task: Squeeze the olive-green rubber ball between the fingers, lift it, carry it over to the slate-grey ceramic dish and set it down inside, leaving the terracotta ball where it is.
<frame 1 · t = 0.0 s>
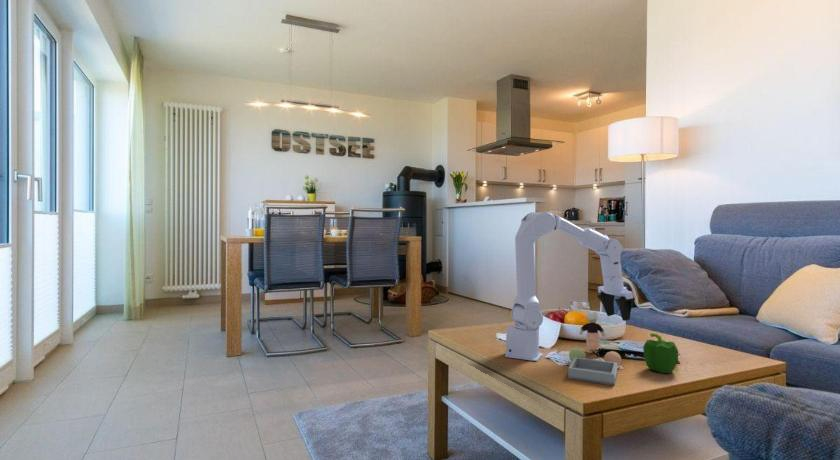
hand: (618, 317, 144), 11 cm above the table, tool pointing down, fingers open, 7 cm apart
terracotta ball: (612, 367, 127), on the table
olive ball: (576, 362, 131), on the table
dish: (593, 375, 119), on the table
bell pepper: (660, 371, 124), on the table
grandmother figurine: (591, 352, 143), on the table
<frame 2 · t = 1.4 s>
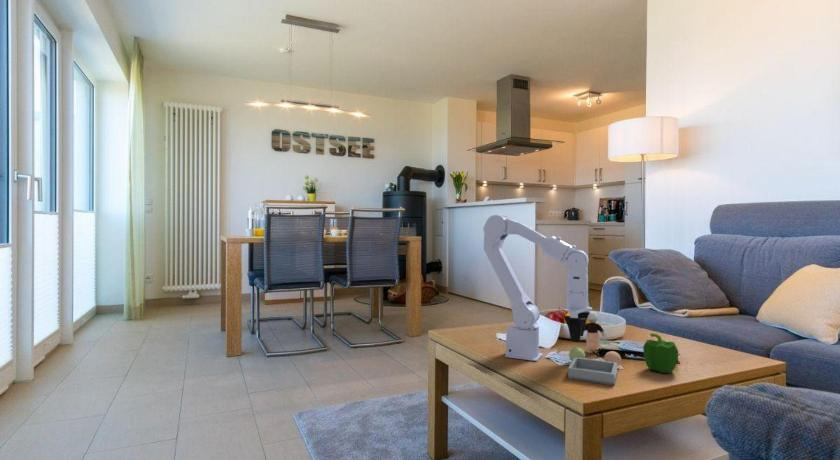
hand: (577, 338, 131), 7 cm above the table, tool pointing down, fingers open, 7 cm apart
nothing on the table moved.
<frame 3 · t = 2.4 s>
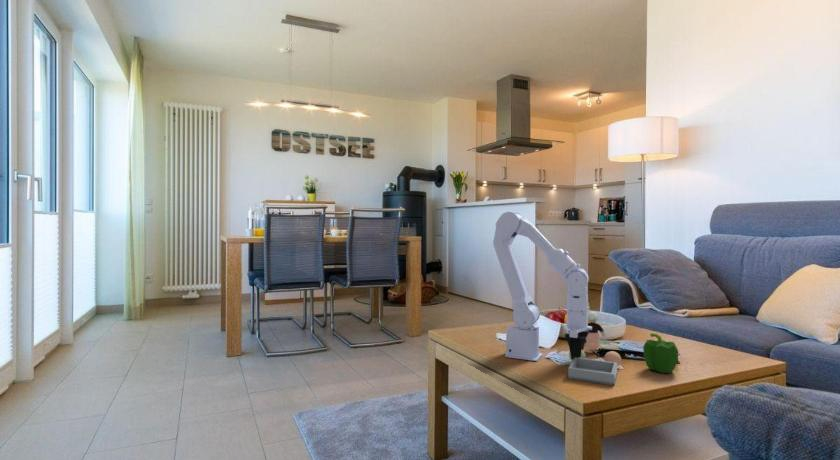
hand: (576, 357, 131), 2 cm above the table, tool pointing down, fingers closed on olive ball, 4 cm apart
olive ball: (576, 362, 131), on the table, touching gripper
everything else where it was.
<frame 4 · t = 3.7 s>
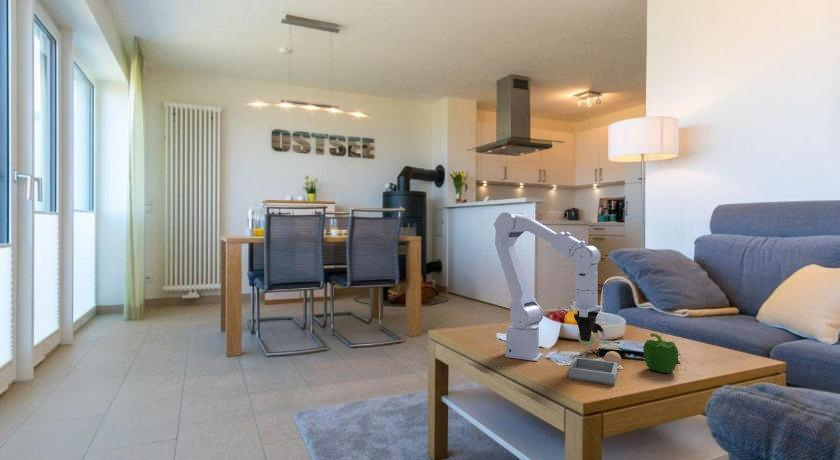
hand: (586, 338, 124), 9 cm above the table, tool pointing down, fingers closed on olive ball, 4 cm apart
olive ball: (586, 345, 124), point 7 cm above the table, touching gripper
everything else where it was.
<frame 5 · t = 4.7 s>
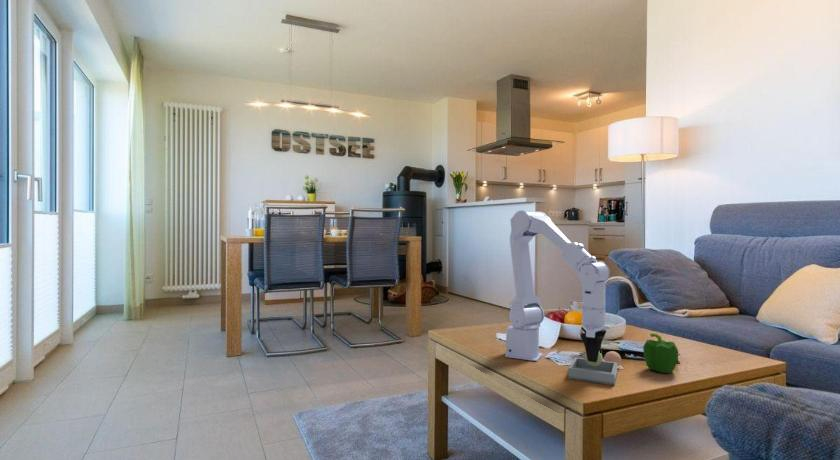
hand: (593, 359, 119), 4 cm above the table, tool pointing down, fingers closed on olive ball, 4 cm apart
olive ball: (593, 365, 119), point 3 cm above the table, touching gripper
everything else where it was.
when the fingers open (4 cm above the table, at t = 5.3 s): olive ball drops 2 cm, resting on dish.
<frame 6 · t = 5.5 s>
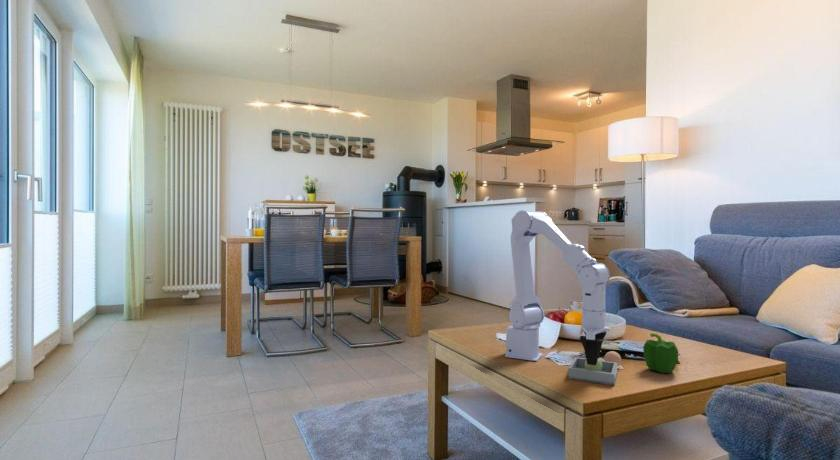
hand: (593, 361, 119), 4 cm above the table, tool pointing down, fingers open, 6 cm apart
olive ball: (593, 373, 119), point 1 cm above the table, touching dish
everything else where it was.
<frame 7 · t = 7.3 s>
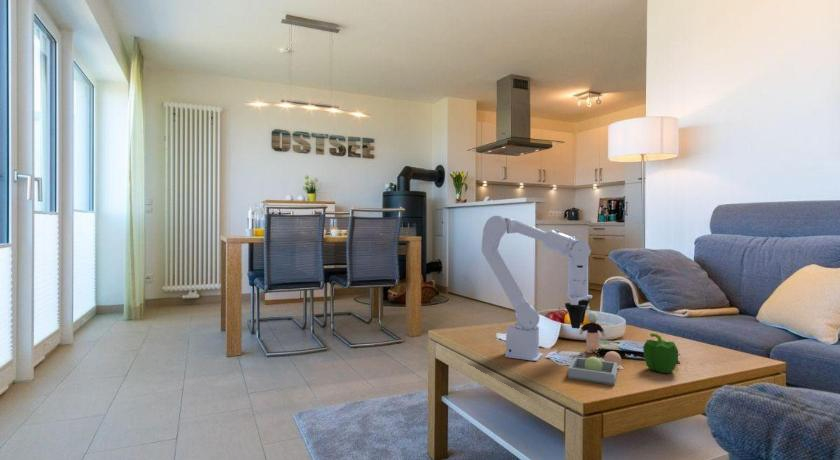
hand: (577, 325, 135), 10 cm above the table, tool pointing down, fingers open, 7 cm apart
nothing on the table moved.
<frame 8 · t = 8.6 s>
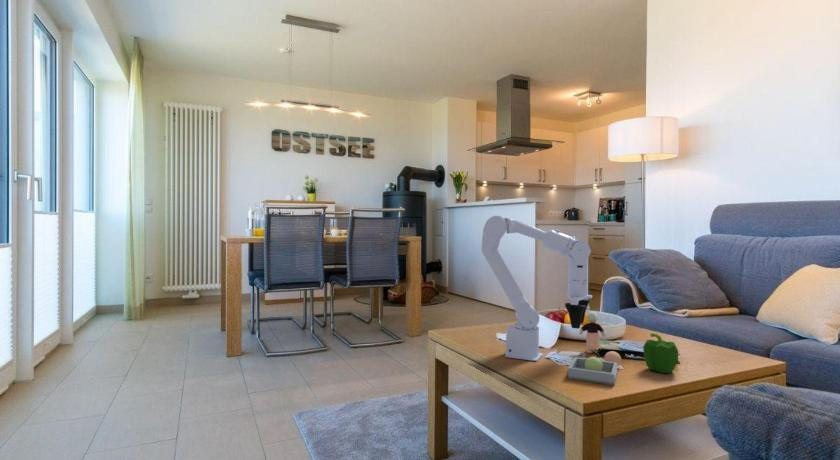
hand: (577, 325, 135), 10 cm above the table, tool pointing down, fingers open, 7 cm apart
nothing on the table moved.
at the end: olive ball inside the target area on the dish (0.1 cm from its centre), point 0.6 cm above the dish's base; the gripper is holding nothing; terracotta ball moved 0.0 cm from its start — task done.
